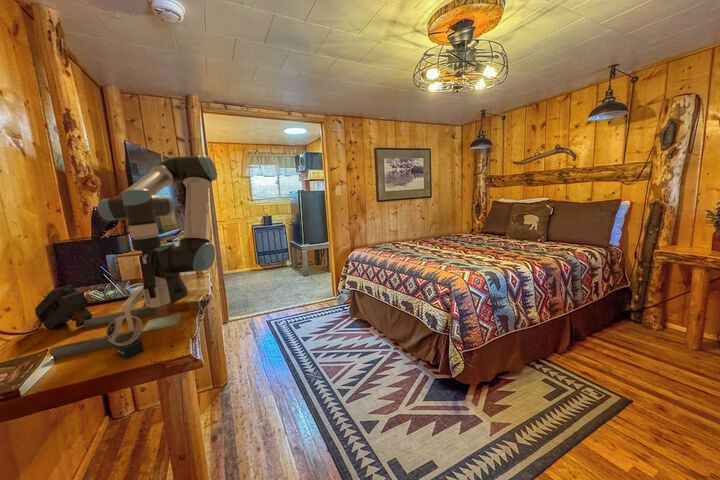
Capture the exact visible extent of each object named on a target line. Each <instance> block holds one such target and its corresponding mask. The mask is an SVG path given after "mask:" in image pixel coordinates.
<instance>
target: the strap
mask: <svg viewBox="0 0 720 480" xmlns="http://www.w3.org/2000/svg"><path fill="white" fill-rule="evenodd" d="M143 297H144V298H143ZM141 298H143V299H144V301H145V307H149V306H150V304H148V303H147V301H146V296H145V292H144V289H143V283H142V282H141V283H139V285H138V287H137V288H136V289H135V290H134V292H132V294H131V295H130V296H129V297H128V298H127V299H126V300H125V301H124V302H123V303H122V304H121V306H120V307H121V309H122V310H121V311H123V312H125V315H131V313H130V310H132V309H134V307H135V306H136V305H137V303H139V301H140V300H141ZM126 319H127V320H126V323H127V328H128V331H129V332H130V331H134V330H135V326H134V322H133V319H132V317H128V318H126Z"/></svg>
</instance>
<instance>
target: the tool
mask: <svg viewBox="0 0 720 480" xmlns="http://www.w3.org/2000/svg"><path fill="white" fill-rule="evenodd" d="M43 298H44V299H42V300H41V301H40V302H39V304H38V305H37V306H36V307H35V308H34V311H35V312H34V313H35V316H36V318H37V319H38V320H39V321H40V323H42V324H43V327H44V328H45V329H46V330H49V331H50V330H52V329H55V328H57V327H60V326H62V325H65V324H67V323H68V322H69V321H72V322H75V324H74V326H75V327H77V328H81V327H82V326H83V327H84V323H83V321H84V320H86V319H89V318H91V317H93V314H92V312H90V311H89V309H88V308H87V306H88V305H89V300H88V298H87V297H86V295H85V294H84V293H83V292H82V291H77V290H76V289H75V287H74V285H72V284H68V285H67V284H66V285H65V286H62V287H58V288H55V289H51V290H50V292H48V294H47V295H46V296H45V297H43Z"/></svg>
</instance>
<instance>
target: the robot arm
mask: <svg viewBox="0 0 720 480" xmlns="http://www.w3.org/2000/svg"><path fill="white" fill-rule="evenodd" d="M217 179H218V173H217V167H216V165H215V164H214V161H213V160H212V158H211V157H210V156H208V155H201V154H198V155H191V156H189V155H188V156H174V157H170V158H167V159H165V160H163V161H160V162H159V163H157V164H155V165H154V166H153V167H151V168H149V172H148V173H147V174H146V175H144V176H143V177H142V178H141V179H139V180H137V181H136V182H134V183H133V184H132V185H131V186H130V187H127V188H126V189H125V190H124V191H122V192H121V193H120V194H118V195H117V196H115V197H113V198H110V197H109V198H102V199H101V200H100V201H99V202H98V203H97V209H96V210H97V212H98V214H99V217H101V218H102V219H104V220H106V221H114V220H115V221H121V220H127V224H128V228H127V232H129V233H130V238H132V239H131V244H132V248H133V251H135V252H141V256H140V257H139V263H140V269H141V274H142V280H143V283H144V287H143V289H144V290H145V289H147V293H148V298H149V303H150V308H153V307H156V308H158V307H162V306H161V304H160V299H159V294H158V289H157V287H156V284H155V277H160V278H164V279H166V282H167V287H168V291H169V296H170V301H171V302H172V301H175V300H179V299H181V298H183V297H185V296H187V295H188V294H189V290H188V286H187V285H186V284H185V282H184V280H183V278H182V277H181V273H193V272H198V273H199V272H202V271H207V270H209V269H211V268H212V266H213V265H214V262H215V259H216V258H215V257H216V250H215V246H214V244H212V243H211V240H210V239H209V238H208V237H207V223H208V222H207V221H208V196H209V195H208V193H209V191H208V190H209V189H210V188H211V187H212V185H213V183H212V182H214V181H216V180H217ZM181 183H182V184H183V185H184V186H185V187H186V189H185V192H186V193H185V205H184V208H185V209H184V226H183V227H184V228H183V236H182V237H181V238H179V243H178V245H176V244H175V243H174V242H166V243H161V238H160V236H158V235H159V233H160V232H159V228H158V223H157V219H156V217H157V218H159V217H166V216H169V215H171V214H172V213H173V212H175V209H176V204H175V201H174V199H173V198H172V197H170V196H168V195H164V194H158V193H160V191H162V189H164V188H167V187H170V186H171V185H173V184H181Z"/></svg>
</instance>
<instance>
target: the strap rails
mask: <svg viewBox="0 0 720 480" xmlns="http://www.w3.org/2000/svg"><path fill="white" fill-rule="evenodd" d="M130 313H131V315H132V316H135V317H138V318H139V319H140V318H144V317H149V316H153V315H158V307H153V308H150V306H149V307H146V306H144V307H137V308H132V310H130ZM122 315H125V312H123V311H122V310H121V311H117V312H113V313H112V312H111V313H107V314H102V315H97V316H92V317H91V318H89V319H86V320H84V321H83V323H84V325H83V327H84V329H90V328H95V327H100V326H104V325H109V323H110V322H111V321H112V320H115V319H116V318H117V317H120V316H122ZM133 319H135V318H133V317H132V320H133ZM135 320H136V319H135ZM124 321H127V319H126V318H124V319H123V322H124ZM142 331H143V330H141V333H140V335H139V337H138V338H137V340H140V341H142V340H143V338H144V335H143V333H142ZM133 333H134V331H130V332H129V330H126V331H122V332H120V333H119V335H118V336H117V337H116V340H115V341H114V342H115V343H120V342H123V341H125V340H128V339H130V338H132V337H133ZM113 347H115V344H113V343H111V342H110V341H109V340H108V339H107V338H106V335H103V336H100V337H94V338H90V339H86V340H85V339H84V340H80V341H76V342H71V343H67V344H61V345H57V346H53V347H52V348H50V349H49V350H48V352H49V353H48V354H49V356H50V355H51V356H53V358H54V359H56V360H60V359H64V358H68V357H73V356H77V355H82V354H86V353H91V352H94V351H99V350H103V349H108V348H113ZM51 356H50V357H51Z"/></svg>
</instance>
